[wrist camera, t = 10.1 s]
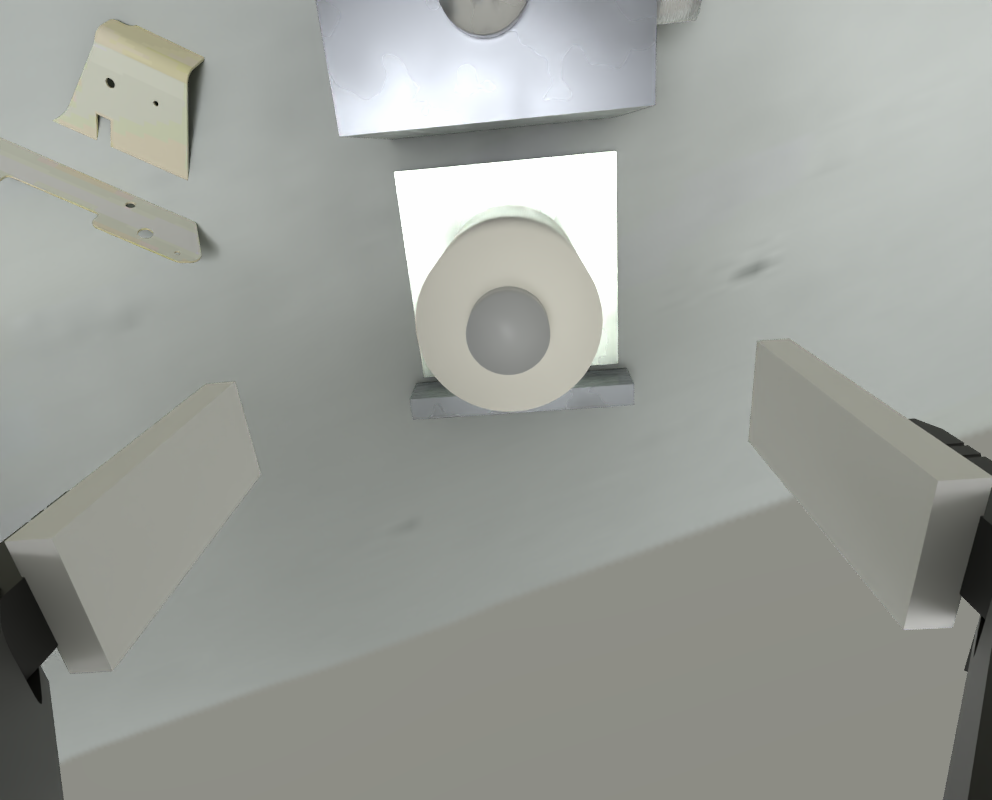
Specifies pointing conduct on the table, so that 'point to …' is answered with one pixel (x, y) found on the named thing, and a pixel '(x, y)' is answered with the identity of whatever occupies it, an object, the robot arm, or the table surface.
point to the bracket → (124, 136)
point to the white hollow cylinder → (509, 312)
